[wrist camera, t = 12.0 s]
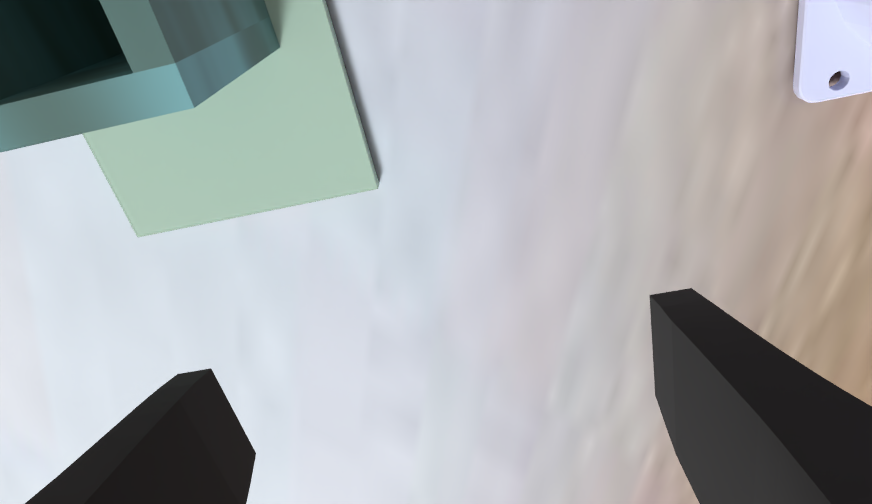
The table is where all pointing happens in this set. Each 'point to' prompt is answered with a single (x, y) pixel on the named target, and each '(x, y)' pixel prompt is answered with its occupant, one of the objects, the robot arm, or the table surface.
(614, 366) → the table surface
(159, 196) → the end mat
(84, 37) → the collar
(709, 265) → the table surface
